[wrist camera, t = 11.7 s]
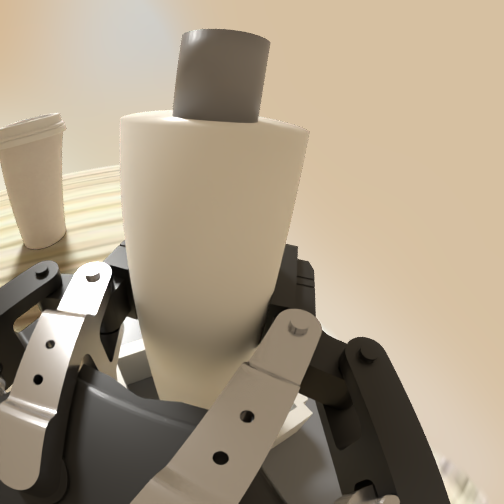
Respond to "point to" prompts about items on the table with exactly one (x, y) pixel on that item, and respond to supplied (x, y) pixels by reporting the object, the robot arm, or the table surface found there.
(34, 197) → the coffee cup
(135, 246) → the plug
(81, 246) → the table surface
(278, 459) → the floor socket
